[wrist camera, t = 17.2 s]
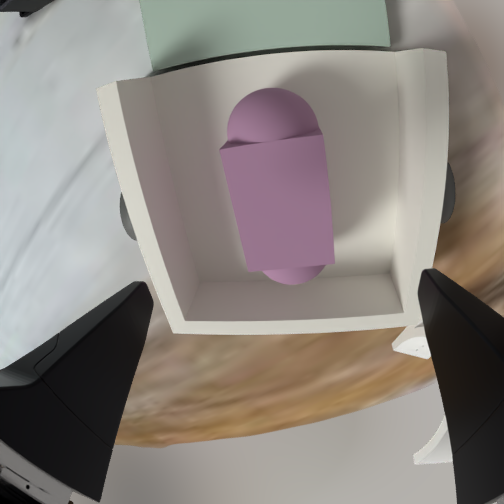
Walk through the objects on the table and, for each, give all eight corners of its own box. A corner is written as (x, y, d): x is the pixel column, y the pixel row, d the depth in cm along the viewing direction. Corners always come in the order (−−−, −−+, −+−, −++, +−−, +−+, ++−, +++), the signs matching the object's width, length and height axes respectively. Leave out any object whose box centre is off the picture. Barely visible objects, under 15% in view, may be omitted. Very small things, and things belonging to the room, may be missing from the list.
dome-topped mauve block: (228, 93, 15) (207, 100, 12) (309, 81, 14) (315, 83, 11) (263, 259, 21) (256, 304, 17) (329, 253, 20) (336, 297, 16)
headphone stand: (391, 343, 25) (413, 464, 15) (431, 296, 22) (478, 424, 12) (425, 352, 26) (452, 461, 16) (464, 310, 23) (510, 423, 12)
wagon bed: (122, 86, 16) (76, 96, 12) (427, 56, 13) (469, 56, 9) (177, 287, 24) (156, 332, 20) (414, 276, 21) (434, 322, 17)
